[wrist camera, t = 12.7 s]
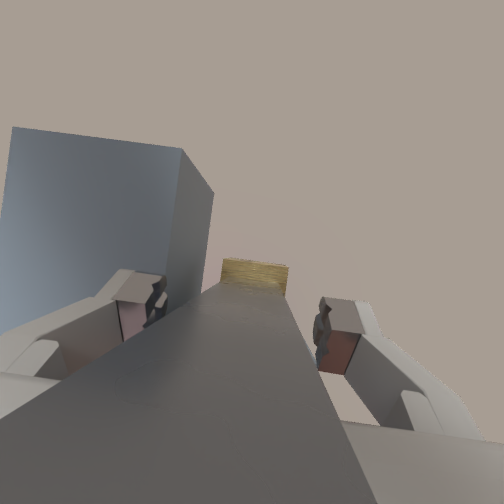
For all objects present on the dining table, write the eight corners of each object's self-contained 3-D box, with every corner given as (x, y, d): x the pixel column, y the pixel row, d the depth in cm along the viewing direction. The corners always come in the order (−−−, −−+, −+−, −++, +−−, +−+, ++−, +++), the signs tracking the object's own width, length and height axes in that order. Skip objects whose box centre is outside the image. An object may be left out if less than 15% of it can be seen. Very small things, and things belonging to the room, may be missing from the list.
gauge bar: (-328, 1074, 1) (-223, 313, 2) (223, 310, 21) (231, 257, 21) (460, 1305, 1) (578, 438, 1) (277, 318, 21) (284, 264, 21)
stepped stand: (-61, 677, 13) (12, 126, 13) (74, 496, 23) (116, 180, 23) (268, 730, 13) (343, 169, 13) (263, 523, 23) (306, 204, 23)
